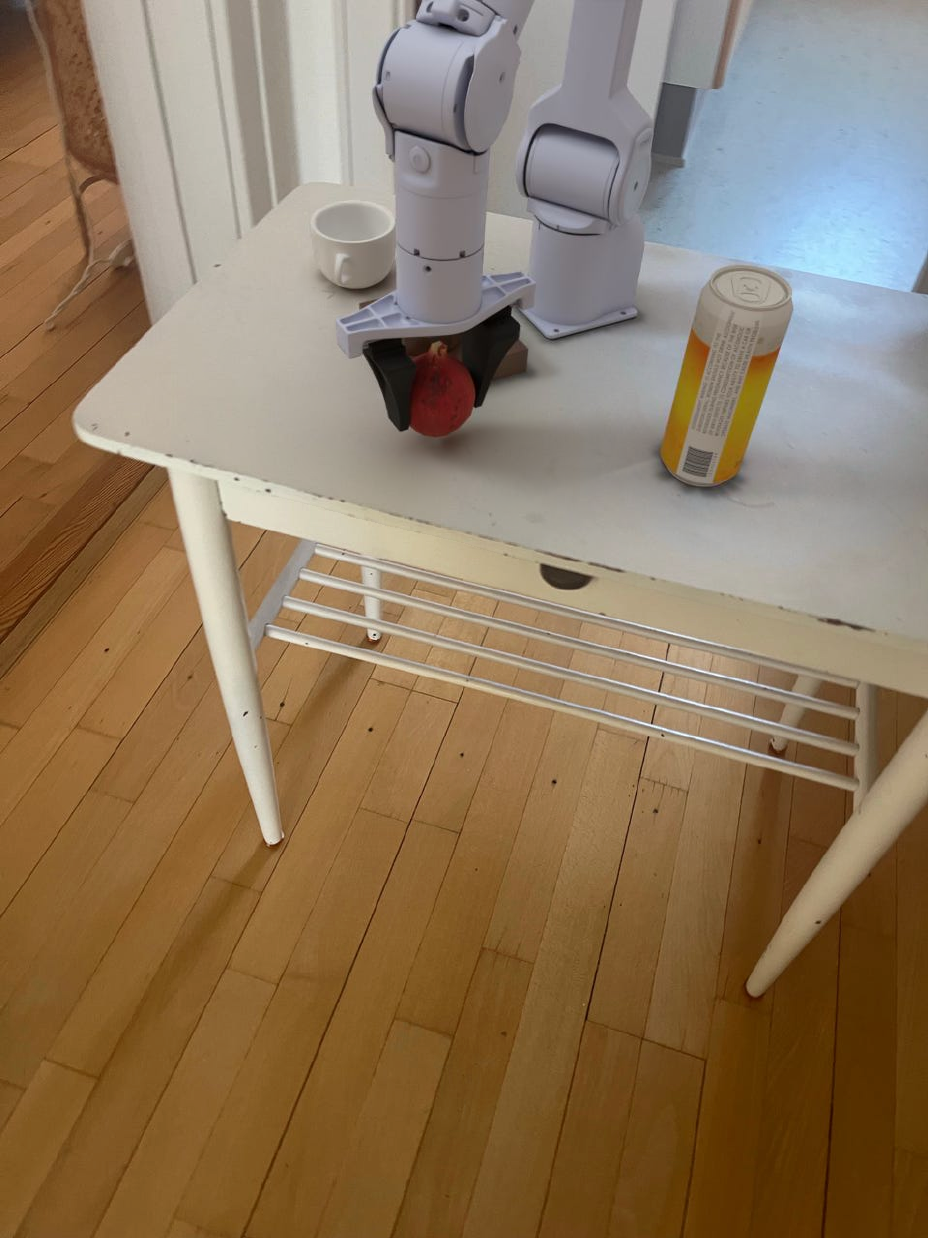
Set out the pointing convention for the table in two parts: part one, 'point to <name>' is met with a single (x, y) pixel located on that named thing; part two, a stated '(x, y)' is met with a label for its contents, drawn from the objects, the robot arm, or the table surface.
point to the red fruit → (440, 393)
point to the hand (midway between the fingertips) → (436, 411)
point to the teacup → (354, 242)
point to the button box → (420, 345)
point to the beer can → (725, 372)
